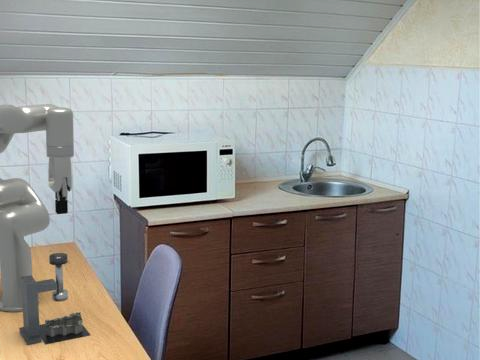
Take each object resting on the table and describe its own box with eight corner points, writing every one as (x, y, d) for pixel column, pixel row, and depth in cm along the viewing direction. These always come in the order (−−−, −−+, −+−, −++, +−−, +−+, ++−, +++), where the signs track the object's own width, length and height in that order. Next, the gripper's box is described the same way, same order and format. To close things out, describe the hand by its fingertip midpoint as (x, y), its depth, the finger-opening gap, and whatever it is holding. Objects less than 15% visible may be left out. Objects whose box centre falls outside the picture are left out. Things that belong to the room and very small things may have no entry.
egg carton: (82, 324, 202) (82, 311, 201) (83, 334, 195) (82, 321, 194) (45, 327, 199) (45, 314, 199) (44, 337, 192) (44, 324, 192)
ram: (49, 297, 196) (47, 254, 194) (66, 294, 199) (64, 251, 196) (53, 303, 192) (51, 259, 189) (71, 300, 194) (69, 256, 192)
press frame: (18, 329, 198) (14, 273, 195) (77, 318, 206) (74, 264, 203) (28, 348, 186) (25, 289, 183) (90, 336, 195) (88, 279, 191)
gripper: (41, 147, 198) (43, 207, 202) (52, 156, 185) (54, 221, 189) (67, 146, 201) (68, 205, 205) (79, 155, 188) (80, 218, 192)
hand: (61, 212), depth 197 cm, fingers closed
